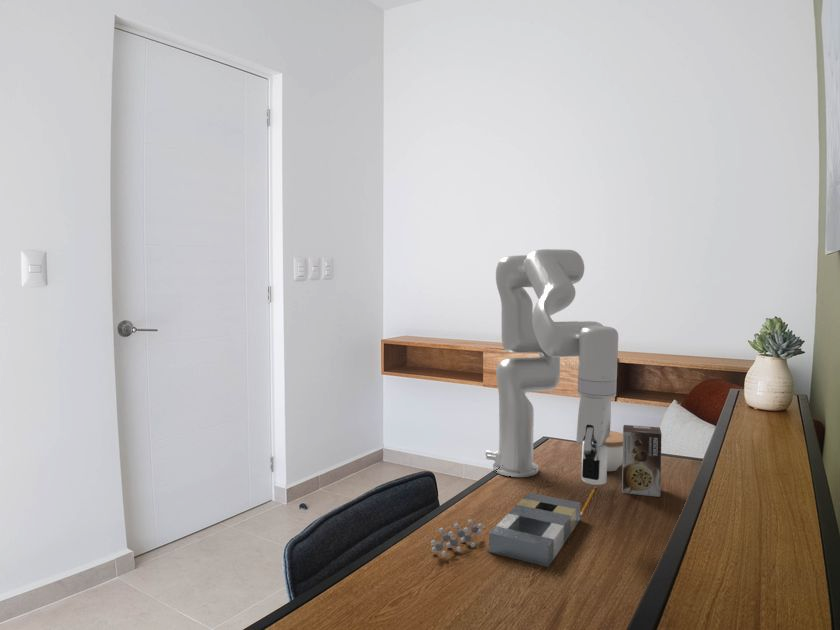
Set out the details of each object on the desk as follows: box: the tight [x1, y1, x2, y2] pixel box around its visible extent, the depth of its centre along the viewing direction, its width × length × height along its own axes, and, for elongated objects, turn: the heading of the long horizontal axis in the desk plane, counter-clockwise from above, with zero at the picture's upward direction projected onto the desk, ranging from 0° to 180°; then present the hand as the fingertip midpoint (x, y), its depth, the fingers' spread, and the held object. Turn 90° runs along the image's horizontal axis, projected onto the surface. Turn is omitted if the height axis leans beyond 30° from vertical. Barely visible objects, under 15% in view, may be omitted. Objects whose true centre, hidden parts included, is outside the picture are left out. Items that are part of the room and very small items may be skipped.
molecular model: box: [430, 519, 484, 558], centre depth 118 cm, size 14×4×5 cm, turn 130°
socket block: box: [488, 492, 581, 568], centre depth 124 cm, size 12×24×4 cm, turn 151°
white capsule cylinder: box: [580, 443, 608, 486], centre depth 120 cm, size 5×5×7 cm
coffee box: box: [621, 424, 663, 498], centre depth 148 cm, size 9×6×16 cm
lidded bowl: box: [582, 430, 623, 472], centre depth 166 cm, size 13×13×11 cm
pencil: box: [580, 486, 597, 517], centre depth 142 cm, size 19×1×1 cm, turn 153°
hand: (593, 473), depth 120 cm, fingers closed on white capsule cylinder, 5 cm apart
